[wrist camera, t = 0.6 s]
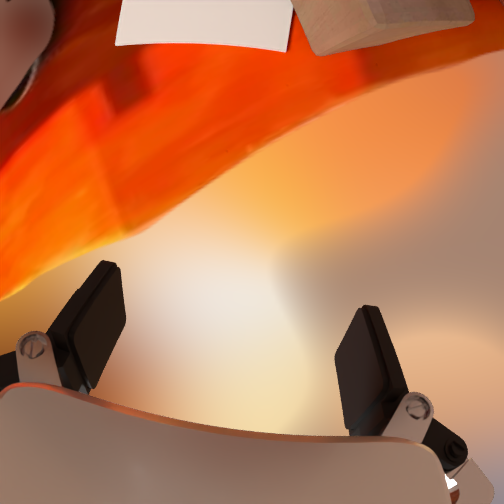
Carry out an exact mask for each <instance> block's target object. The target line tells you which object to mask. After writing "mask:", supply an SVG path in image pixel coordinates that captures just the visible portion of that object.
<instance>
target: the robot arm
mask: <svg viewBox="0 0 504 504" xmlns="http://www.w3.org/2000/svg"><path fill="white" fill-rule="evenodd" d="M125 323H126V313H125V305H124V297H123V289H122V280H121V271H120V268H119V267H117V265H116V263H114V262H109V261H104V260H102V261H101V262H100V263H99V264H98V265H97V266H96V268H95V269H94V270H93V272H92V273H91V274H90V275H89V277H88V278H87V279H86V281H85V282H84V283H83V285H82V286H81V287H80V288H79V289H77V291H75V293H74V294H73V295H72V297H71V298H70V299H69V301H68V302H67V304H66V305H65V306H64V308H63V309H62V311H61V312H60V313H59V315H58V316H57V318H56V319H55V320H54V322H53V323H52V325H51V326H50V328H49V329H48V331H47V332H46V334H45V333H43V332H40V331H31V332H28V333H26V334H24V335H23V336H22V337H21V338H20V339H19V340H18V342H17V344H16V351H13V352H10V353H7V354H4V355H1V356H0V504H490V503H491V502H492V500H493V498H494V487H493V485H492V484H491V482H490V481H489V480H488V479H487V477H486V476H485V475H484V473H483V472H482V471H481V470H480V468H479V467H478V466H477V464H476V463H475V462H474V461H473V459H472V458H470V459H469V460H468V458H467V455H468V449H467V446H466V444H465V442H464V440H463V439H461V438H460V437H459V436H458V435H456V434H455V433H453V432H452V431H451V430H449V429H448V428H446V427H445V426H444V425H442V424H441V423H440V422H438V421H437V420H435V419H434V418H433V414H434V409H433V405H432V403H431V402H430V400H429V399H428V398H427V397H426V396H424V395H423V394H421V393H418V392H410V393H409V391H408V388H407V384H406V381H405V378H404V375H403V372H402V369H401V366H400V363H399V360H398V357H397V355H396V352H395V349H394V346H393V344H392V342H391V339H390V336H389V334H388V331H387V328H386V325H385V323H384V320H383V318H382V315H381V313H380V310H379V308H378V307H377V306H370V305H363V306H362V308H358V310H357V311H356V313H355V316H354V318H353V320H352V322H351V324H350V326H349V328H348V330H347V332H346V334H345V336H344V338H343V340H342V341H341V343H340V345H339V347H338V349H337V351H336V354H335V366H336V372H337V377H338V384H339V389H340V396H341V402H342V409H343V416H344V424H345V428H346V429H349V435H350V436H308V435H288V434H275V433H264V432H254V431H245V430H237V429H229V428H223V427H216V426H210V425H204V424H199V423H193V422H188V421H183V420H178V419H173V418H169V417H164V416H160V415H155V414H152V413H148V412H144V411H140V410H136V409H133V408H129V407H125V406H122V405H119V404H115V403H112V402H108V401H105V400H102V399H99V398H96V397H93V396H89V392H90V390H91V388H92V389H94V388H95V387H96V385H97V383H98V381H99V379H100V376H101V374H102V372H103V370H104V368H105V366H106V363H107V361H108V359H109V357H110V355H111V353H112V351H113V349H114V347H115V345H116V342H117V340H118V338H119V336H120V334H121V332H122V330H123V328H124V326H125ZM86 394H87V395H86Z"/></svg>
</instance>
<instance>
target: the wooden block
mask: <svg viewBox="0 0 504 504" xmlns="http://www.w3.org/2000/svg"><path fill="white" fill-rule="evenodd" d="M290 1H291V3H292V5H293V7H294V9H295V11H296V14H297V16H298V18H299V20H300V23H301V25H302V27H303V29H304V32H305V34H306V37H307V39H308V41H309V44H310V46H311V49H312V51H313V52H314V53H315V54H316V55H317V56H326V55H330V54H335V53H340V52H344V51H349V50H354V49H360V48H365V47H371V46H377V45H382V44H385V43H389V42H393V41H396V40H400V39H404V38H408V37H412V36H416V35H420V34H425V33H429V32H434V31H439V30H444V29H450V28H455V27H461V26H467V25H469V24H470V23H472V22H473V21H474V20H475V16H474V11H473V9H472V6H471V3H470V1H469V0H290Z"/></svg>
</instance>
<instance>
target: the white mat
mask: <svg viewBox="0 0 504 504" xmlns="http://www.w3.org/2000/svg"><path fill="white" fill-rule="evenodd" d="M292 12H293V5H292V3H291V1H290V0H123V3H122V8H121V13H120V18H119V24H118V30H117V36H116V43H115V45H116V46H120V45H133V44H152V43H201V44H220V45H232V46H243V47H252V48H260V49H268V50H274V51H281V52H286V49H287V43H288V37H289V30H290V24H291V18H292Z"/></svg>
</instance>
